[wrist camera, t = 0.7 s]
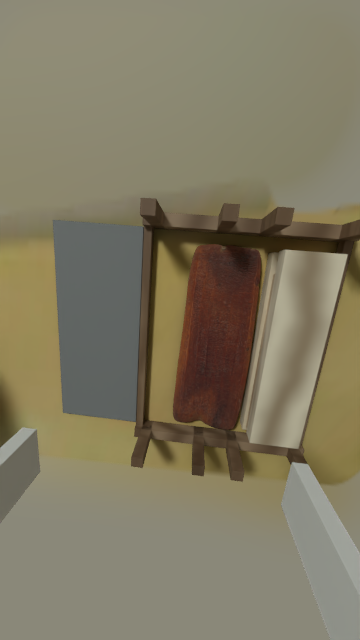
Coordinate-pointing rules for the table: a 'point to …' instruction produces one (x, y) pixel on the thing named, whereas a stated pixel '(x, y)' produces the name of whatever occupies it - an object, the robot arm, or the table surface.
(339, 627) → the robot arm
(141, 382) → the rack
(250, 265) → the wooden tablet
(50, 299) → the table surface
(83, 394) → the mat
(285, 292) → the offcut stack
